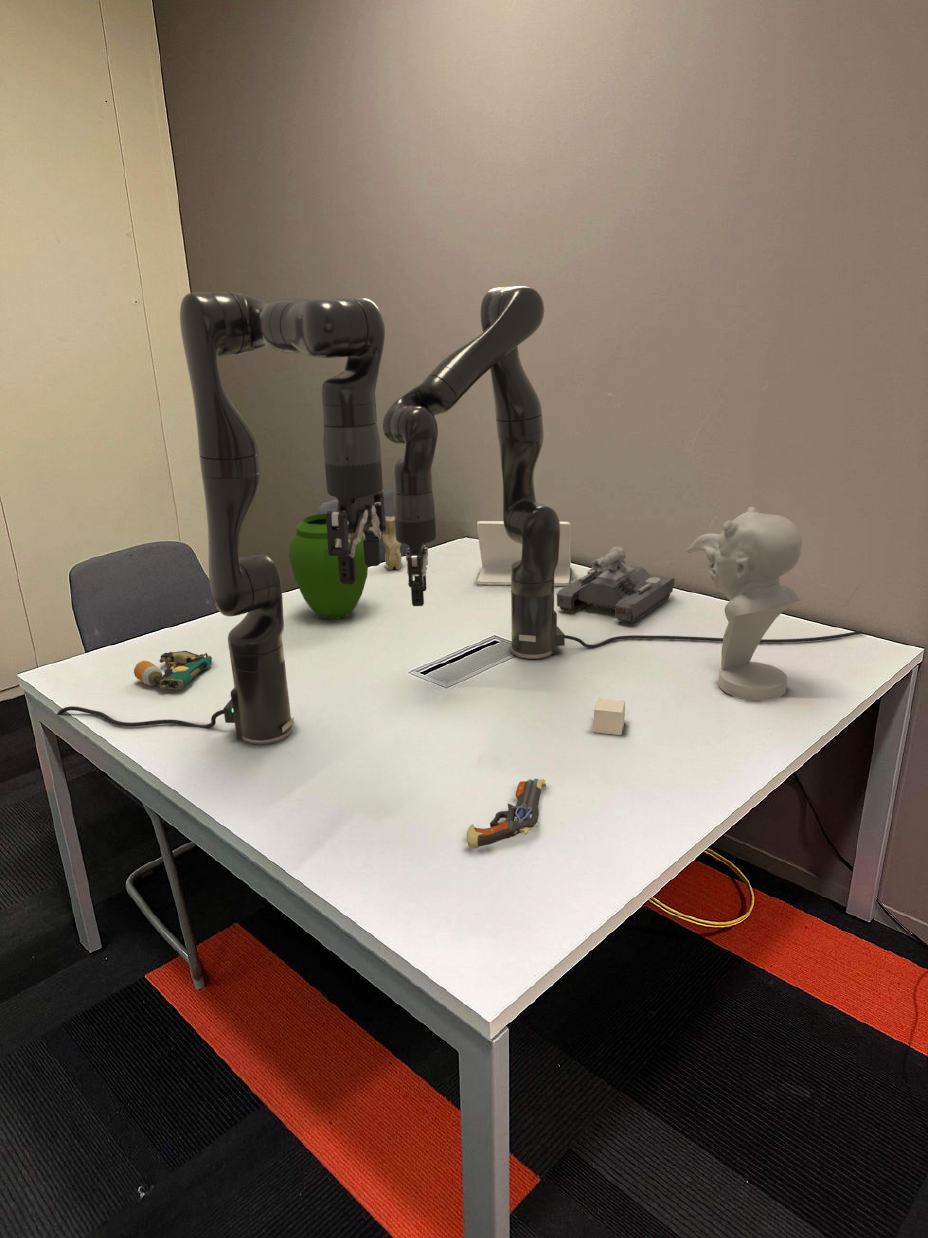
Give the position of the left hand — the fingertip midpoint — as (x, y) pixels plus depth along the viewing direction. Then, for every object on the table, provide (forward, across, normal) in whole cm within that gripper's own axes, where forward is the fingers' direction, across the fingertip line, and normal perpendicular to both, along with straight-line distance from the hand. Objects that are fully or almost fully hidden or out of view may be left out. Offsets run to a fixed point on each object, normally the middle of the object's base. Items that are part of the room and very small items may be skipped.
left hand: (361, 573), depth 119 cm
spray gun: (+38, +35, +60) cm, 79 cm away
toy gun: (+38, +2, -20) cm, 43 cm away
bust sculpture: (+38, +58, -52) cm, 87 cm away
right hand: (+18, +40, +7) cm, 45 cm away
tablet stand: (+38, +118, +4) cm, 124 cm away
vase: (+38, +77, +43) cm, 96 cm away
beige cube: (+38, +34, -31) cm, 59 cm away
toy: (+38, +99, -24) cm, 109 cm away
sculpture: (+38, +117, +43) cm, 130 cm away
